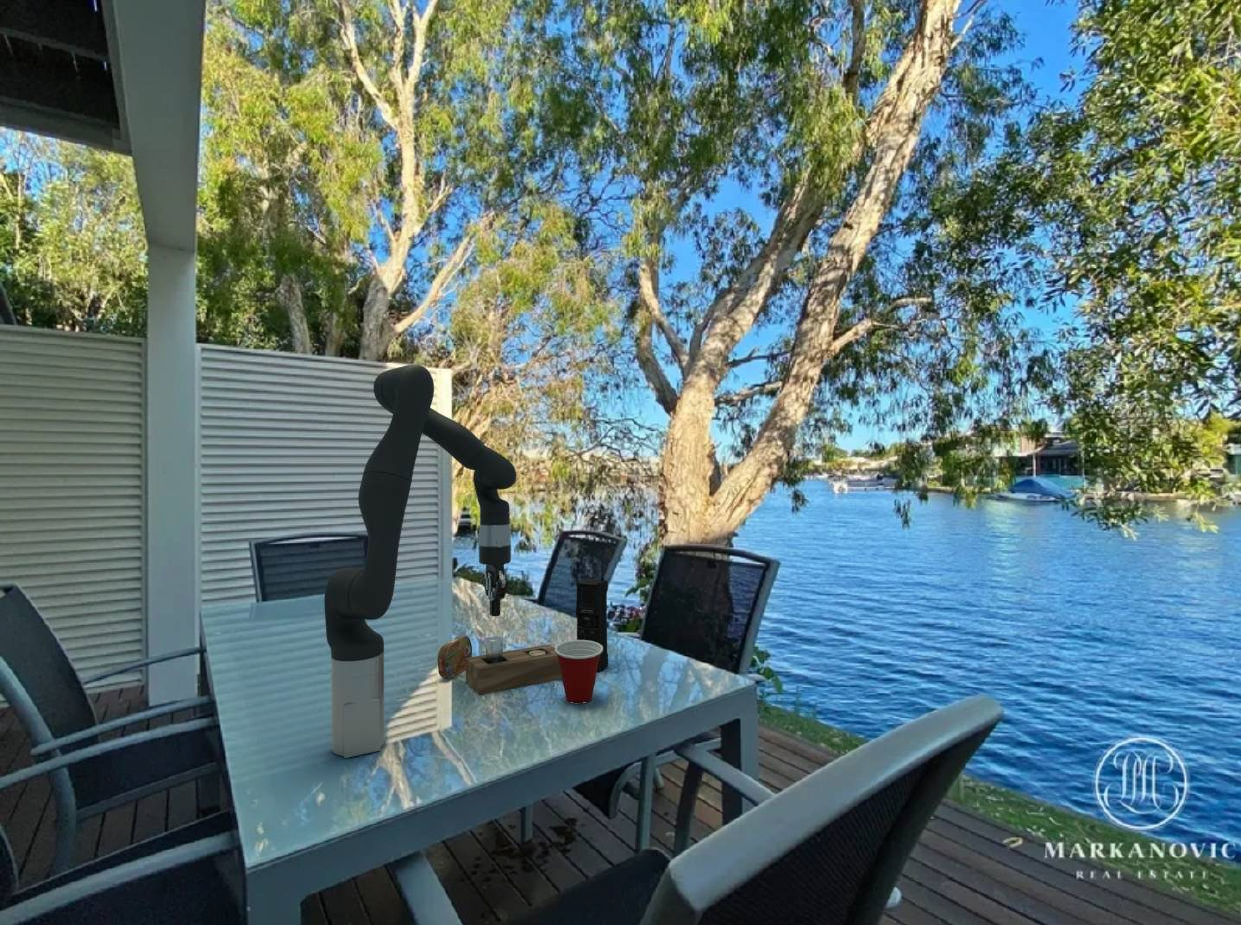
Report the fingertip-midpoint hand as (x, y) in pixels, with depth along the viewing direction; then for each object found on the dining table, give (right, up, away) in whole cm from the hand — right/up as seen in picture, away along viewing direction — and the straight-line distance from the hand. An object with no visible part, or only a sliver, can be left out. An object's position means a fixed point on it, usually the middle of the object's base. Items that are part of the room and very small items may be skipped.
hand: (495, 615), depth 154 cm
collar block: (+5, -17, +3) cm, 17 cm away
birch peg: (+9, -17, +6) cm, 20 cm away
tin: (-12, -17, +9) cm, 23 cm away
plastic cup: (+21, -17, -11) cm, 29 cm away
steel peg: (0, -12, 0) cm, 12 cm away
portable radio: (+22, -17, +12) cm, 30 cm away
